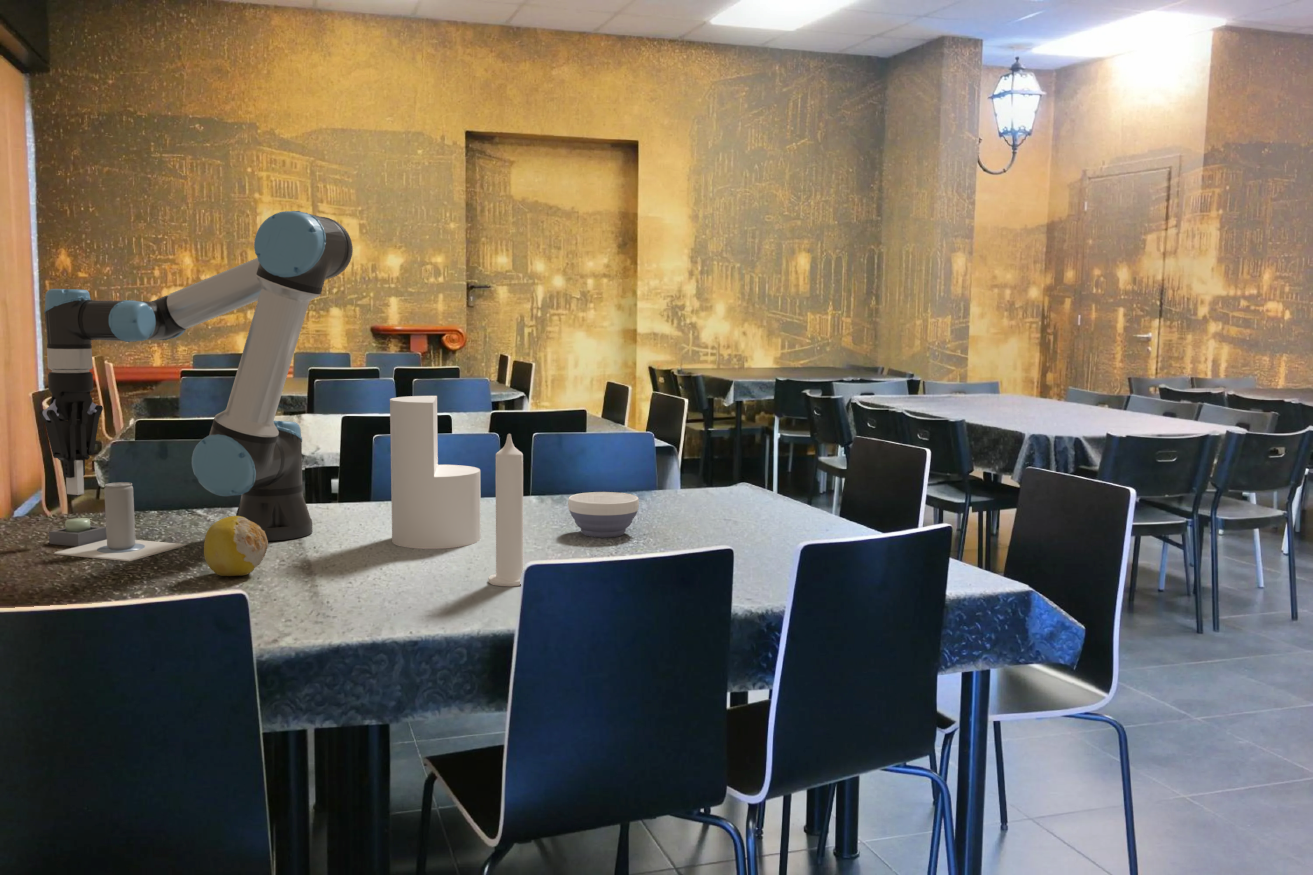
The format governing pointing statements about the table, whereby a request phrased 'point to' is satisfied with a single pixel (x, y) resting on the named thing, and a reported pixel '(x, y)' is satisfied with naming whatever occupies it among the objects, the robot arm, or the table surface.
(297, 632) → the table surface
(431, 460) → the white notched round column
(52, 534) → the button housing
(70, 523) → the button
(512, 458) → the candle
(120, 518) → the beverage can
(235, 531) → the fruit
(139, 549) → the paper sheet
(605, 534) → the bowl
